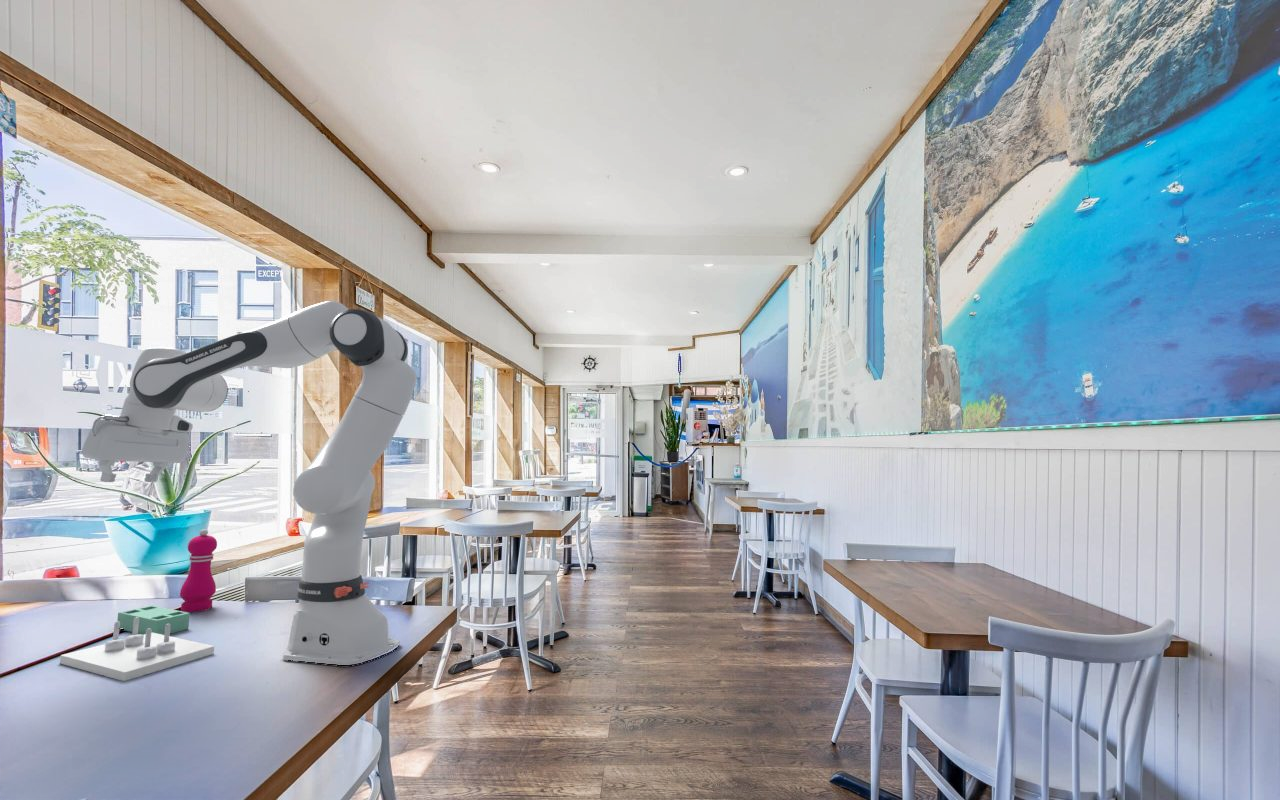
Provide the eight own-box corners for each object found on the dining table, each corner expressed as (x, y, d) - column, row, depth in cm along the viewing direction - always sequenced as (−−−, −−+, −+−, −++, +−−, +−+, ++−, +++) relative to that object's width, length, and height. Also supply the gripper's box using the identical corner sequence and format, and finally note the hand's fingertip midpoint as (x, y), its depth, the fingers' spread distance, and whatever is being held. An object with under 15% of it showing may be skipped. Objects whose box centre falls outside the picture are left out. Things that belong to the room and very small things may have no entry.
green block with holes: (188, 628, 129) (189, 612, 129) (155, 637, 122) (157, 620, 123) (149, 620, 134) (151, 605, 134) (116, 628, 127) (118, 612, 128)
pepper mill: (194, 614, 140) (202, 531, 141) (170, 611, 141) (178, 530, 143) (221, 606, 147) (228, 528, 149) (198, 604, 148) (205, 526, 150)
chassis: (213, 653, 114) (216, 618, 114) (123, 681, 100) (128, 641, 100) (151, 639, 121) (154, 606, 122) (59, 663, 107) (64, 626, 108)
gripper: (110, 415, 114) (91, 484, 112) (199, 425, 134) (184, 484, 132) (83, 411, 114) (63, 479, 113) (176, 421, 135) (160, 479, 133)
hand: (129, 481), depth 122 cm, fingers open, 8 cm apart
